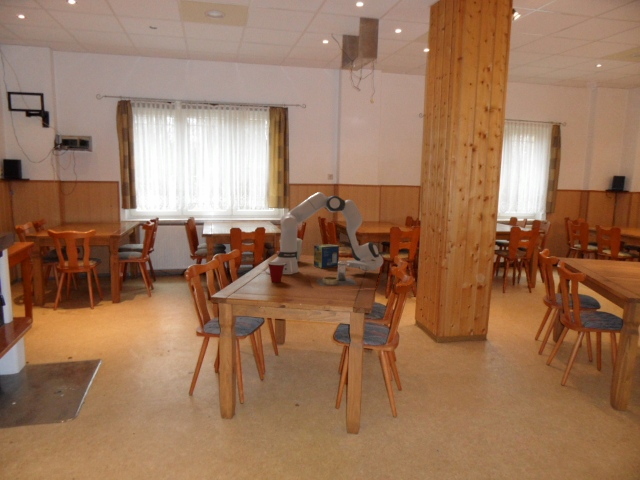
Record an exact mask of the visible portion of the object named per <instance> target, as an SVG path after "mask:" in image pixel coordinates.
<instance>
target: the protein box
mask: <svg viewBox="0 0 640 480" xmlns="http://www.w3.org/2000/svg"><path fill="white" fill-rule="evenodd" d="M339 254H340V245H337V244H332V243H327V244H314V245H313V267H315V266H317V267H316V268H319V267H320V268H319V269H327V268H326V267H330V268H335V267H334V266H338V261H340V260H339V257H340V255H339Z"/></svg>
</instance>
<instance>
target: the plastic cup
mask: <svg viewBox="0 0 640 480" xmlns="http://www.w3.org/2000/svg"><path fill="white" fill-rule="evenodd" d="M267 265H268V269H269V270H270V274H269V275H270V280H271V283H274V284H275V283H276V284H277V283H281V282H282V278H283V275H284V274H283V268H284V265H285V263H281V262H271V261H269V262H267Z"/></svg>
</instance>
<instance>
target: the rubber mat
mask: <svg viewBox="0 0 640 480" xmlns="http://www.w3.org/2000/svg"><path fill="white" fill-rule="evenodd" d="M315 280H316V282H317V283H318V285H319V286H320V287H325V286H326V287H330V286H359V284H358V283H357V282H356V281H355V280H354V278H346V281H338V284H336V285H325V284H323V283H322V279H321V278H317V279H315Z"/></svg>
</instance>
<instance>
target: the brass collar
mask: <svg viewBox="0 0 640 480" xmlns="http://www.w3.org/2000/svg"><path fill="white" fill-rule="evenodd" d="M321 278H322V283H323V284H325V285H335V286H337V285H336V284H338V276H323V277H321Z"/></svg>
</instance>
